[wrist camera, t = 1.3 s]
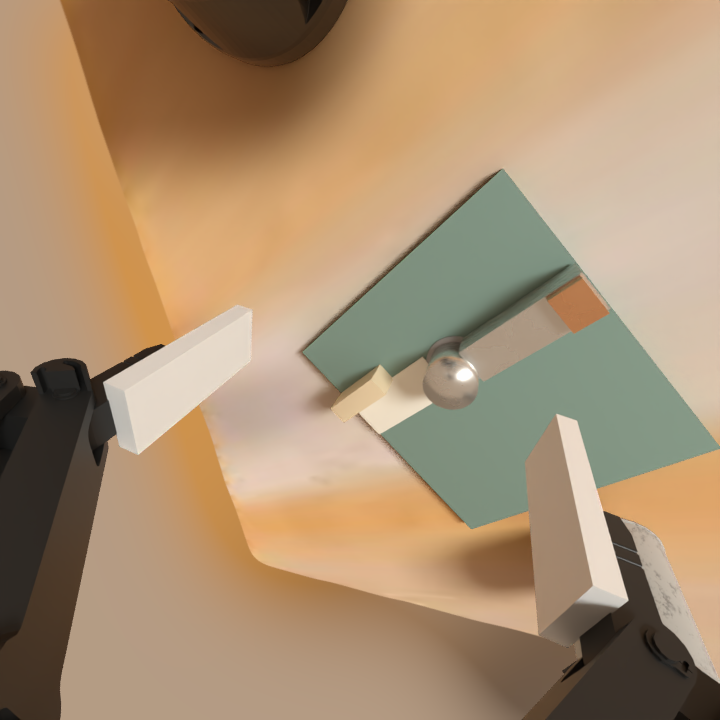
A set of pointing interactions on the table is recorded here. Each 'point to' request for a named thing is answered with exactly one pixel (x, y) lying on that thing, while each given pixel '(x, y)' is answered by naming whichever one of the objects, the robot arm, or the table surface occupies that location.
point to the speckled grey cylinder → (667, 597)
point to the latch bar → (512, 337)
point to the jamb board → (509, 387)
